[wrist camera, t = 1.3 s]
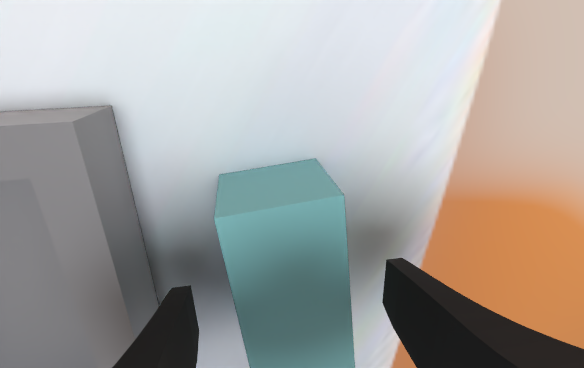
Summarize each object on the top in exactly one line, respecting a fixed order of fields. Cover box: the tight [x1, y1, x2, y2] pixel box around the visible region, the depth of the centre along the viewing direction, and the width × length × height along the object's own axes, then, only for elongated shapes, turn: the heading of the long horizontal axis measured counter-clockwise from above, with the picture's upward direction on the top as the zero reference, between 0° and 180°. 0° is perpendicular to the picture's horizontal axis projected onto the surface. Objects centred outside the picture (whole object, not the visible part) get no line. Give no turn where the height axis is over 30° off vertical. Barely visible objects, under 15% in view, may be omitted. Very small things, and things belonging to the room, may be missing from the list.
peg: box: [214, 159, 355, 368], centre depth 13 cm, size 8×4×4 cm, turn 7°
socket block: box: [0, 106, 159, 368], centre depth 12 cm, size 14×10×3 cm
